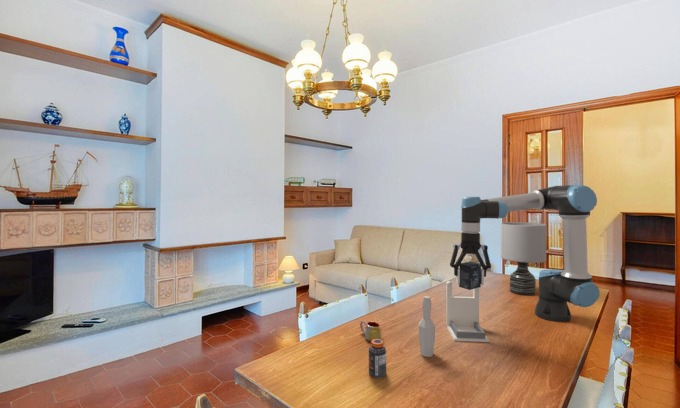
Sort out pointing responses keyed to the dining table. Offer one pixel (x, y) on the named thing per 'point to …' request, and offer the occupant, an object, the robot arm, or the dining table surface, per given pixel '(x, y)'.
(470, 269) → the box
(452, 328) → the white l-bracket
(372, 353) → the pill bottle
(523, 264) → the lamp
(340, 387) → the dining table surface
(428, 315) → the low poly bottle
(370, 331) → the mug
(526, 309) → the dining table surface
